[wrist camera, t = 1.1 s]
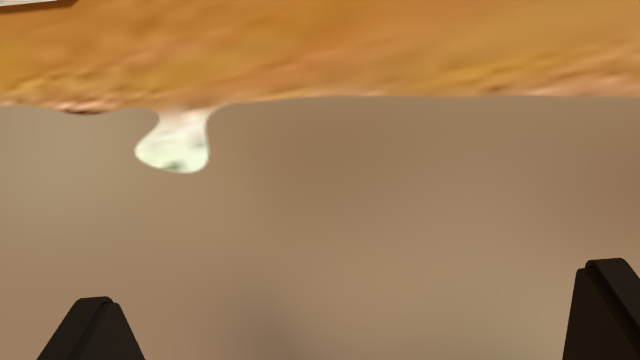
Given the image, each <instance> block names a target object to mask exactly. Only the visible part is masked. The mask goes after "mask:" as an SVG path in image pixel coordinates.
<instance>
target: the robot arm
mask: <svg viewBox="0 0 640 360" xmlns="http://www.w3.org/2000/svg"><path fill="white" fill-rule="evenodd" d="M37 360H145V358H144V356H143V354H142V352H141V350H140V348H139V345H138V343H137V341H136V339H135V337H134V335H133V333H132V330H131V328H130V326H129V324H128V322H127V320H126V318H125V316H124V314H123V311H122V309H121V307H120V305H119V304H117V303H113V301H112V300H111V298H109V297H105V296H104V297H91V298H80V299H79V300H77V301H76V302H75V303H74V305H73V306H72V307H71V309H70V310H69V312H68V313H67V315H66V316H65V318H64V319H63V321H62V322H61V324H60V325H59V327H58V329H57V330H56V331H55V333H54V334H53V336H52V338H51V339H50V340H49V342H48V344H47V345H46V346H45V348H44V349H43V351H42V352H41V354H40V355H39V357H38V358H37ZM562 360H640V278H639V277H638V276H637V274H636V273H635V272H634V271H633V269H632V268H631V267H630V265H629V264H628V263H627V262H626V261H625V260H624V259H622V258H612V259H599V260H589V261H588V262H587V263H586V265H585V268H581V269H578V270H577V273H576V278H575V284H574V290H573V296H572V303H571V309H570V315H569V321H568V327H567V334H566V340H565V346H564V352H563V359H562Z"/></svg>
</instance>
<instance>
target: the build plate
mask: <svg viewBox="0 0 640 360" xmlns="http://www.w3.org/2000/svg"><path fill="white" fill-rule="evenodd" d="M45 1H55V0H0V6H6V5H16V4H26V3H35V2H45Z"/></svg>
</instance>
